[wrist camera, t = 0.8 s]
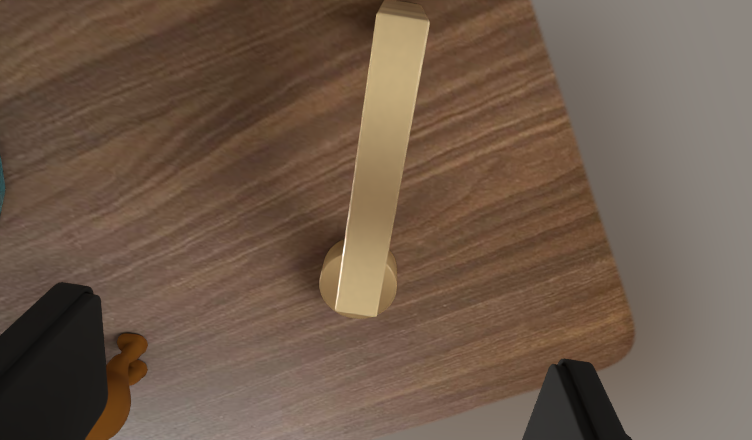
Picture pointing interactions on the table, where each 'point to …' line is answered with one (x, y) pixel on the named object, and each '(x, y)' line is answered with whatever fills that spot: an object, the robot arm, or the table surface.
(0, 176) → the bowl
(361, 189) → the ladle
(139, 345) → the toy figurine
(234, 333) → the table surface
